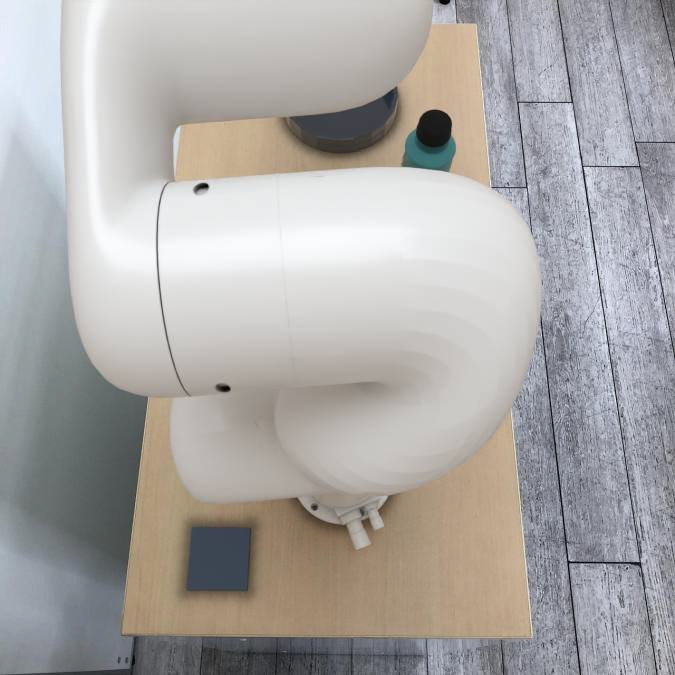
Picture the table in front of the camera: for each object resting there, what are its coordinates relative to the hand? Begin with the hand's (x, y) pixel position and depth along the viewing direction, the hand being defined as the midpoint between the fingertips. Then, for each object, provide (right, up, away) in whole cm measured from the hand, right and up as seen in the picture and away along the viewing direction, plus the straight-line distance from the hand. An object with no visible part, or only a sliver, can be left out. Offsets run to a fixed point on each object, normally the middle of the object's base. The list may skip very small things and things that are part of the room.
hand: (309, 93), depth 73 cm
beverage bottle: (+15, -10, +18) cm, 26 cm away
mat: (-11, -54, +1) cm, 55 cm away
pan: (+4, +7, +25) cm, 26 cm away
